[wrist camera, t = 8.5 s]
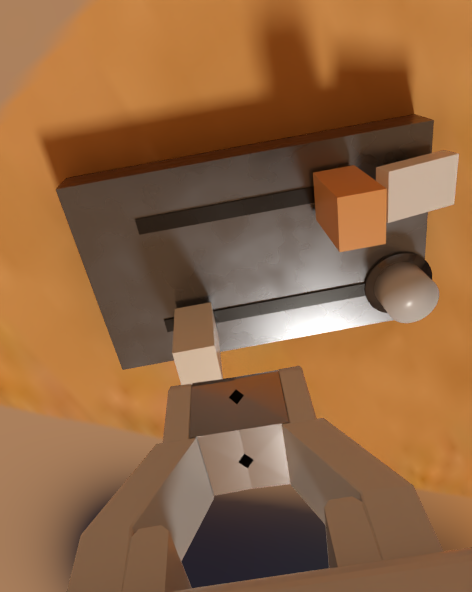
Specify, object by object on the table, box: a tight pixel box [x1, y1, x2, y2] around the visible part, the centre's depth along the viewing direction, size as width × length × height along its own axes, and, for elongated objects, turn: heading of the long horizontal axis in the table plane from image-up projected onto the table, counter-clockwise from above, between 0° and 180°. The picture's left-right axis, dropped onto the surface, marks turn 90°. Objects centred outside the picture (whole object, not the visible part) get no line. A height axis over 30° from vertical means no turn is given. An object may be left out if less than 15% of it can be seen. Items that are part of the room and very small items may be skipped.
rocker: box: [376, 150, 459, 223], centre depth 21 cm, size 4×2×1 cm, turn 99°
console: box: [56, 114, 434, 370], centre depth 24 cm, size 18×11×3 cm, turn 99°
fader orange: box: [313, 165, 387, 252], centre depth 20 cm, size 2×2×4 cm
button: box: [374, 262, 439, 323], centre depth 24 cm, size 3×3×2 cm
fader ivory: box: [172, 302, 223, 385], centre depth 23 cm, size 2×2×4 cm
